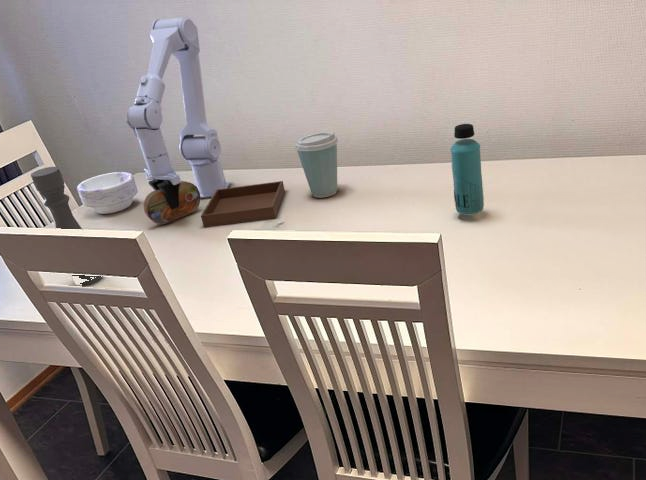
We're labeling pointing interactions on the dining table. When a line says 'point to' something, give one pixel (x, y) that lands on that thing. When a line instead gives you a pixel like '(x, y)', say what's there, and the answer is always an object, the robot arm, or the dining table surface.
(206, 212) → the tray
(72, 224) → the candle holder
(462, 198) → the beverage bottle
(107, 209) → the paper bowls
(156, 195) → the tin
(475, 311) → the dining table surface
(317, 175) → the disposable coffee cup
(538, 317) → the dining table surface
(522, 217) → the dining table surface
